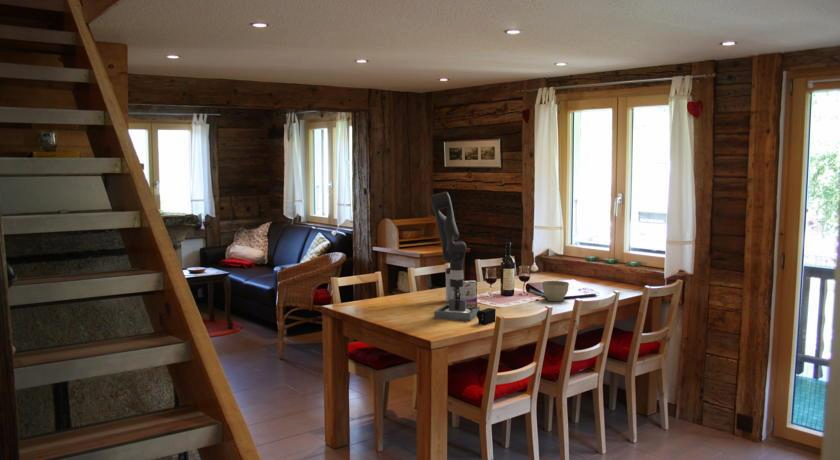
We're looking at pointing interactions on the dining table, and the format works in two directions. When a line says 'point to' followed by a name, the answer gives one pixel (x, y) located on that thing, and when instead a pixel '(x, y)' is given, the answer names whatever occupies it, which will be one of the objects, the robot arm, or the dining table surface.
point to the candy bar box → (469, 293)
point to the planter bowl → (555, 290)
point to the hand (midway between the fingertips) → (456, 308)
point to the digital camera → (486, 316)
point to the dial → (461, 306)
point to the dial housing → (456, 314)
